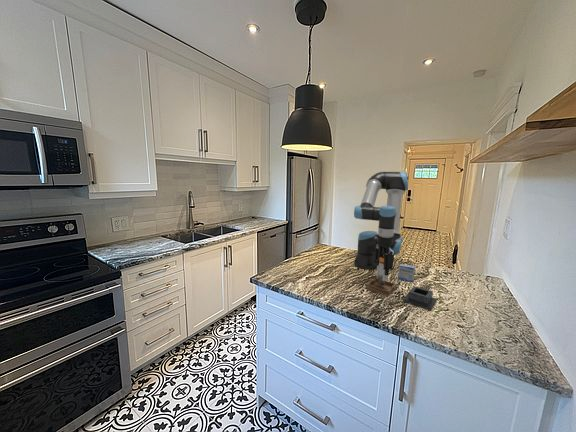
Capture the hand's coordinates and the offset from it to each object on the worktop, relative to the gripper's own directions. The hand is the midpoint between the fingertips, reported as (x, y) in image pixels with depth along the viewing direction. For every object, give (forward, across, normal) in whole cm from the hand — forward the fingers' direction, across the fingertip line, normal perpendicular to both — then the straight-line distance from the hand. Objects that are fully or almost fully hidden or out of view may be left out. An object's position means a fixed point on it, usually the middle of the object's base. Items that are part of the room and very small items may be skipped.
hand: (381, 278), depth 130 cm
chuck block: (+6, +16, +10) cm, 20 cm away
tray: (+6, 0, 0) cm, 6 cm away
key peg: (+3, 0, 0) cm, 3 cm away
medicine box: (+6, -6, +22) cm, 24 cm away
